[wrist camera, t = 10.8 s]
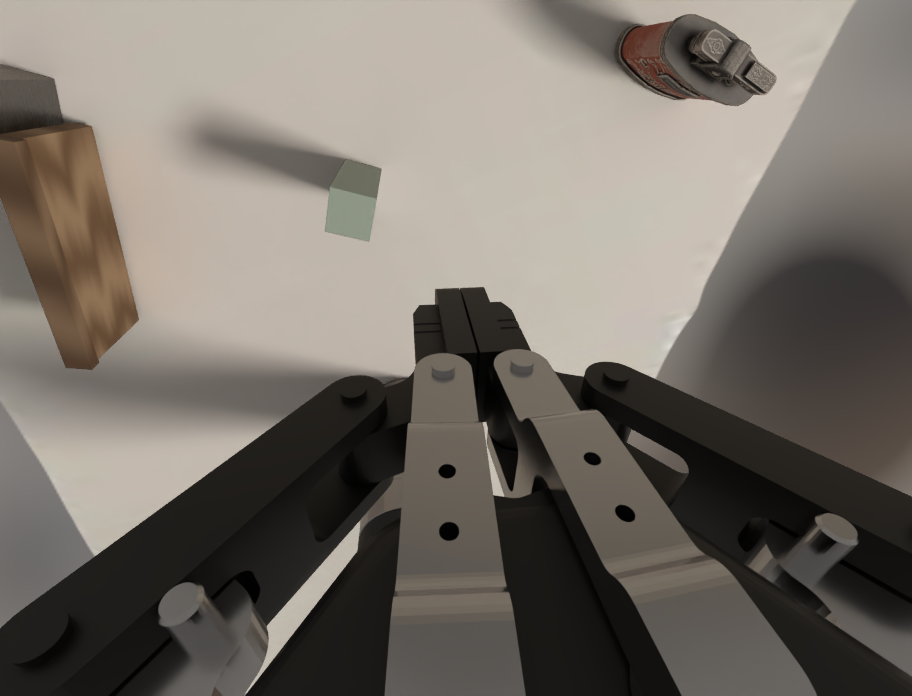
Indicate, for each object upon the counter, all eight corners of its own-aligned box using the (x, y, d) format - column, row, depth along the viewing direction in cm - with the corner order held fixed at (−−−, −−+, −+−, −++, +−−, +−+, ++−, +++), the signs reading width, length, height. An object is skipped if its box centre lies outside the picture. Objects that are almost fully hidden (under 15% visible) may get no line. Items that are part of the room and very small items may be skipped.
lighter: (605, 62, 33) (675, 59, 24) (631, 12, 31) (716, -9, 23) (678, 109, 35) (763, 121, 27) (705, 66, 34) (805, 65, 25)
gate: (68, 121, 30) (-24, 135, 24) (96, 127, 30) (14, 142, 24) (121, 318, 39) (66, 367, 33) (142, 320, 40) (91, 369, 33)
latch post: (375, 203, 36) (369, 241, 28) (341, 194, 36) (324, 231, 28) (381, 168, 35) (376, 198, 27) (345, 159, 34) (329, 186, 26)
